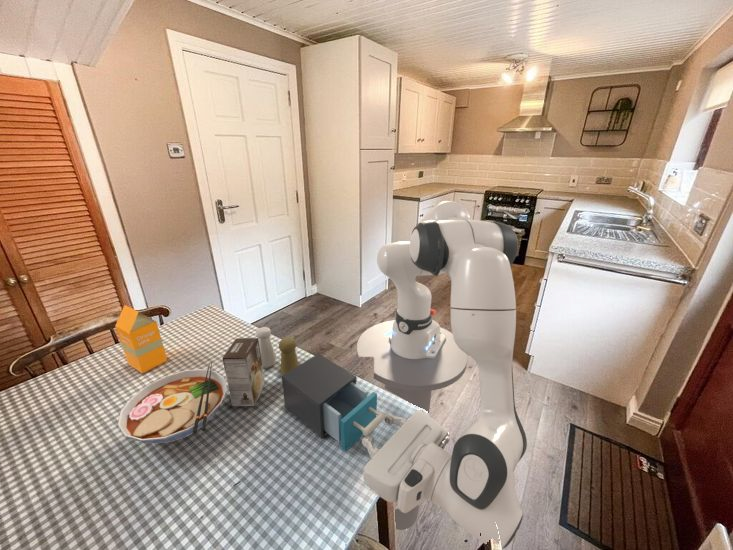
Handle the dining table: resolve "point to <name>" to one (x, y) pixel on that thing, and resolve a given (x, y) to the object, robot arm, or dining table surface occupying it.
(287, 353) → the olive pepper shaker
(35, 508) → the dining table surface
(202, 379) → the ramen bowl
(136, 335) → the orange juice
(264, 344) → the salt shaker
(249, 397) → the coffee box
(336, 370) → the grey drawer cabinet
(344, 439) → the teal drawer
